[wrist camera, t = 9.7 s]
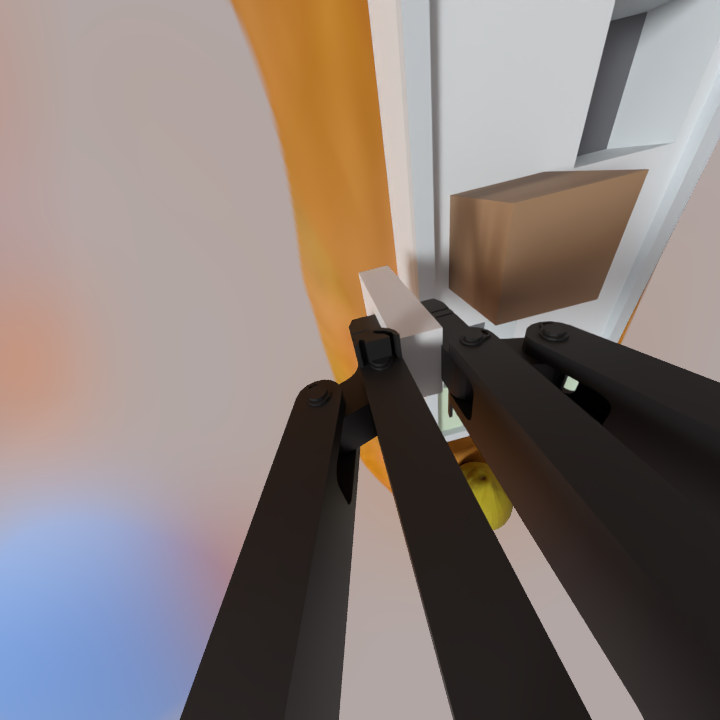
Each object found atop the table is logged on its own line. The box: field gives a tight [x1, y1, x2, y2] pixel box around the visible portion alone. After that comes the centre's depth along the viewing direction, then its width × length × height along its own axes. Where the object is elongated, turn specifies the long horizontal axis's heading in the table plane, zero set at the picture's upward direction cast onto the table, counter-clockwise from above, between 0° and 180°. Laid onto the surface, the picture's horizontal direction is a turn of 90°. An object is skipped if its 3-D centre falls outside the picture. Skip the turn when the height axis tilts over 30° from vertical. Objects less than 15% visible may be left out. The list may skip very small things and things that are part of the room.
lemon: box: [460, 462, 513, 530], centre depth 34 cm, size 11×8×8 cm
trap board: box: [368, 0, 720, 442], centre depth 18 cm, size 30×16×5 cm, turn 12°
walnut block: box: [449, 169, 649, 326], centre depth 12 cm, size 5×5×5 cm
